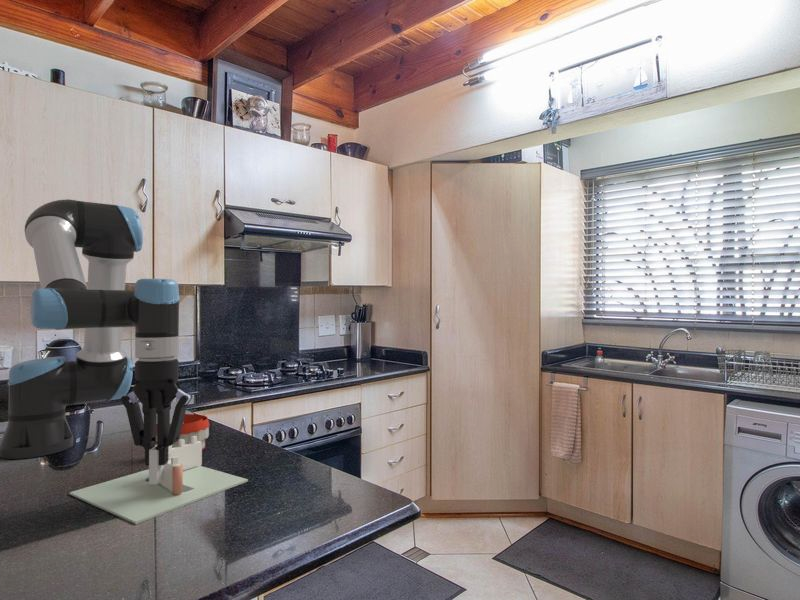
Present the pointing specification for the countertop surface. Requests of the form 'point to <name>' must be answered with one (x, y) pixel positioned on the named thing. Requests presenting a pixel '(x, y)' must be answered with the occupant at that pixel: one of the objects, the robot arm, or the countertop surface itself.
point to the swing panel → (173, 475)
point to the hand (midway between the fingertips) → (156, 481)
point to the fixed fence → (188, 453)
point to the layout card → (154, 493)
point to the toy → (194, 429)
